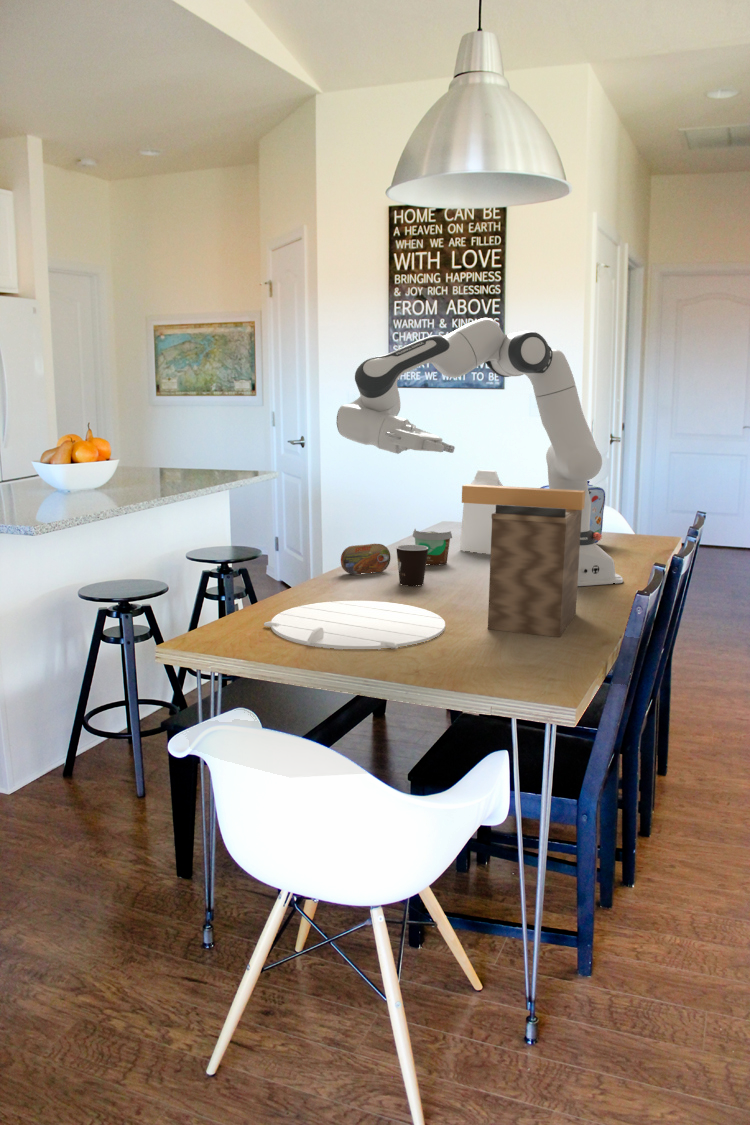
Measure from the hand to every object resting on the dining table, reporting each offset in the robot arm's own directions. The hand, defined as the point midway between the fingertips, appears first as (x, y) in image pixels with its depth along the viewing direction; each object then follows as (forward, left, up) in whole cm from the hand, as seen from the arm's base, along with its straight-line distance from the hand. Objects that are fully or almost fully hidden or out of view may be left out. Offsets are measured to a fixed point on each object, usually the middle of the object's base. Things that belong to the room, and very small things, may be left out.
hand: (448, 449), depth 223 cm
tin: (+15, -35, -38) cm, 54 cm away
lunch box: (-60, -73, -38) cm, 102 cm away
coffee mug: (+4, -21, -38) cm, 44 cm away
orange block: (-14, +15, -12) cm, 24 cm away
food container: (-6, -46, -38) cm, 60 cm away
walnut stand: (-16, +22, -38) cm, 47 cm away
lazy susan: (+25, +21, -38) cm, 50 cm away
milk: (-29, -67, -38) cm, 82 cm away
